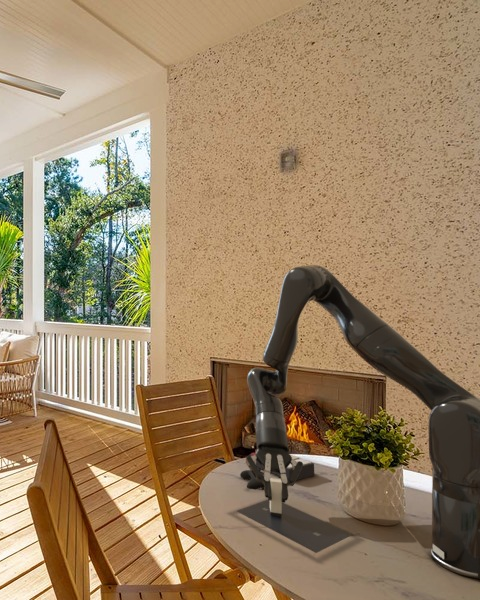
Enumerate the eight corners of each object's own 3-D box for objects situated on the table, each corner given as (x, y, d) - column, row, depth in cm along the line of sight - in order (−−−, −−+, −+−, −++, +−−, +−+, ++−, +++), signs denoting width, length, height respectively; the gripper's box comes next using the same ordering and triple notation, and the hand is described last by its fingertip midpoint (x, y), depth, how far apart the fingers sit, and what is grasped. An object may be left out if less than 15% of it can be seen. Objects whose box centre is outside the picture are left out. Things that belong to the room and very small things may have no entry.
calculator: (272, 447, 142) (314, 460, 129) (273, 460, 142) (315, 475, 129) (248, 452, 138) (289, 466, 124) (249, 466, 137) (290, 481, 124)
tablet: (360, 539, 95) (360, 535, 95) (318, 561, 87) (318, 556, 87) (271, 499, 114) (271, 495, 114) (230, 513, 106) (230, 510, 106)
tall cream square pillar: (280, 512, 105) (280, 478, 104) (281, 517, 102) (282, 482, 102) (269, 510, 105) (269, 476, 105) (270, 515, 103) (271, 481, 103)
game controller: (238, 473, 128) (253, 460, 127) (251, 487, 127) (266, 473, 127) (246, 487, 118) (262, 473, 118) (260, 502, 118) (276, 487, 117)
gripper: (243, 423, 113) (246, 489, 101) (302, 429, 109) (312, 498, 97) (242, 437, 118) (244, 502, 106) (298, 443, 114) (307, 510, 102)
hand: (276, 499), depth 102 cm, fingers closed on tall cream square pillar, 2 cm apart
